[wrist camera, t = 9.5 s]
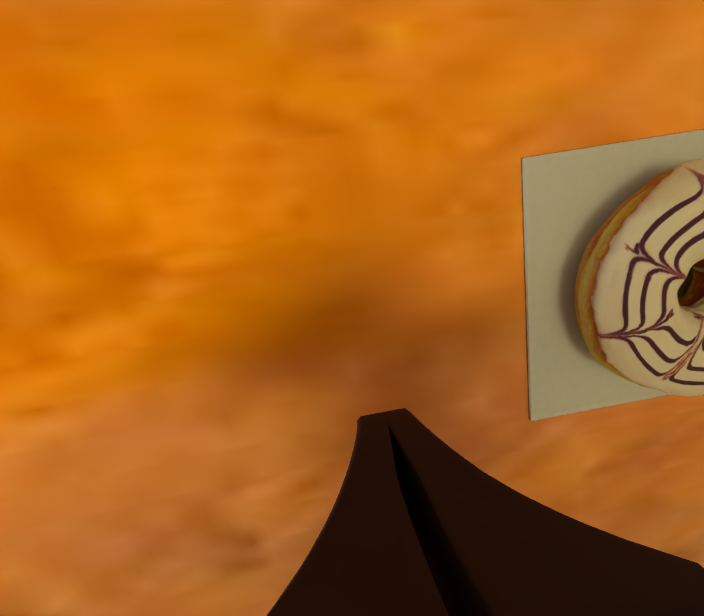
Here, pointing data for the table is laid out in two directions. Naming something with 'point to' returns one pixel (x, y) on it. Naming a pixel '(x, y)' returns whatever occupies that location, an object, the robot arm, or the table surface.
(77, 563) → the table surface
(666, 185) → the decorated donut
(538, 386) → the placemat
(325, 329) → the table surface
